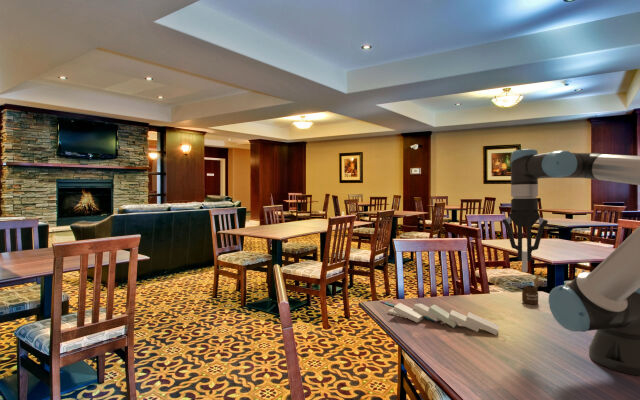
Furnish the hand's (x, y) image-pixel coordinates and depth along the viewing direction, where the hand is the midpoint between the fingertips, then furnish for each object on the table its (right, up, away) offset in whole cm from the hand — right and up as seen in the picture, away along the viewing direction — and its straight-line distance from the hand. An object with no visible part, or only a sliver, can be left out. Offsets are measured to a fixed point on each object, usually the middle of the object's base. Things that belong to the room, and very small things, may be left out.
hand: (524, 270), depth 113 cm
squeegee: (-28, -22, +29) cm, 46 cm away
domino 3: (-22, -20, +14) cm, 33 cm away
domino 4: (-18, -21, +10) cm, 29 cm away
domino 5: (-11, -21, +7) cm, 25 cm away
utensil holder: (+23, -21, +36) cm, 48 cm away
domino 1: (-30, -21, +19) cm, 42 cm away
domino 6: (-7, -21, +4) cm, 22 cm away
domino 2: (-29, -20, +15) cm, 39 cm away
